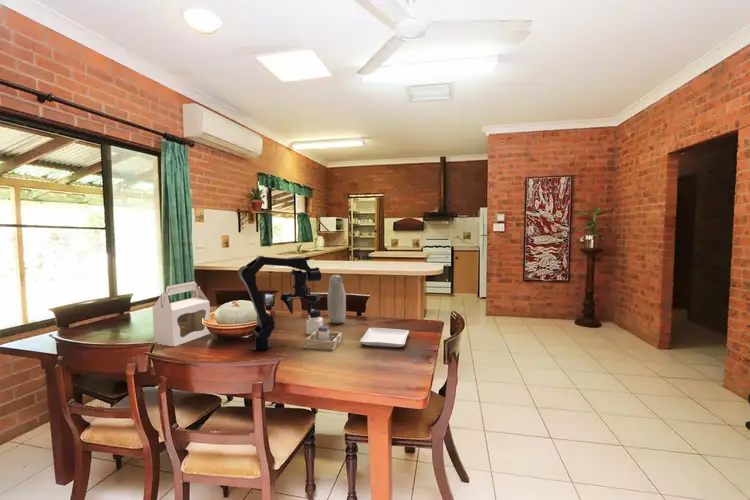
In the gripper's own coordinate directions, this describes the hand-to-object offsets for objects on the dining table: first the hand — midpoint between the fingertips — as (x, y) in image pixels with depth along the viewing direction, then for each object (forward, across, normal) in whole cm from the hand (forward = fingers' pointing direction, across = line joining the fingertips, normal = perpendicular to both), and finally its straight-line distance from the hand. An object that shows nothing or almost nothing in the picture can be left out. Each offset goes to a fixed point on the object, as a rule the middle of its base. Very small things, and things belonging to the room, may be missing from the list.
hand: (300, 314), depth 171 cm
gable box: (+13, +60, +8) cm, 62 cm away
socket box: (+13, -13, +3) cm, 19 cm away
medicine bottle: (+13, -2, -13) cm, 19 cm away
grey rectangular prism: (+13, -13, +3) cm, 18 cm away
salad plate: (+14, -41, -7) cm, 44 cm away
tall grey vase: (+13, -8, -32) cm, 35 cm away
